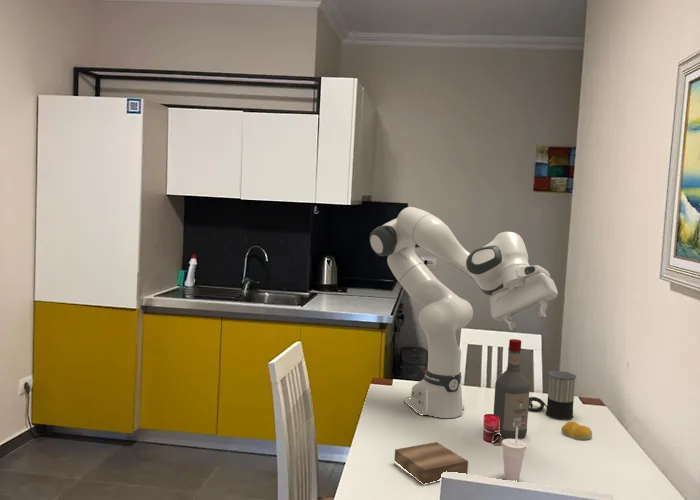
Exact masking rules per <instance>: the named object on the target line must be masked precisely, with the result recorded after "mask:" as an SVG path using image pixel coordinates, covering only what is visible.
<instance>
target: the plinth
mask: <svg viewBox="0 0 700 500" xmlns="http://www.w3.org/2000/svg"><path fill="white" fill-rule="evenodd" d="M394 461H396V462H397V463H398V464H400V465H401V466H402V467H403V468H404V469H406V470H407V471H408V472H409V473H411V474H412V475H413V476H414V477H416V478H417V479H418V480H419V481H421V482H422V483H423V484H425V483H430V482H433V481H437V480H439V479H440V478H441V474H442V473H443V472H446V471H447V472H458V473H466V474H467V475H468V471H469V460H467V459H466V458H464V457H462V456H460V455H459V454H457V453H456V452H454V451H452V450H451V449H449V448H448V447H446V446H444V445H442V444H441V443H440V442H437V441H435V442H429V443H424V444H419V445H418V444H417V445H413V446H408V447H401V448H396V449H394ZM419 481H418V482H419ZM423 484H422V485H423Z"/></svg>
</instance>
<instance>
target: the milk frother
mask: <svg viewBox="0 0 700 500" xmlns="http://www.w3.org/2000/svg"><path fill="white" fill-rule="evenodd" d="M576 378H577V375H576V374H574V373H572V372H570V371H563V370H552V371H549V372H548V386H547V387H548V390H547V403H545V402H544V400H543V399H541V398H539V397H538V396H537V397H536V396H529V405H528V411H530V412H536V413H538V412H541V411H543V410H544V408H546V411H545V415H546V416H547V417H549V418H551V419H553V420H559V421H570V420H573V419H574V401H575V399H574V398H575V389H576V387H575V385H576ZM533 402H537V403H539V405H540V406H538V407H533V406H534V404H533Z"/></svg>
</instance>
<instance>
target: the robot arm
mask: <svg viewBox="0 0 700 500" xmlns="http://www.w3.org/2000/svg"><path fill="white" fill-rule="evenodd" d="M369 245H370V247H371V249H372V251H373V252H374V253H375V254H376V255H378V256H380V257H387V259H386V261H387V266H388V268H389V269H390V271H391V273H392V275H393V276H394V277H395V279H396V280H397V282H398V283H399V284H400V286H401V287H402V288H403V289H404V291H406V293H407V294H408V295H409V297H410V298H411V299H412V300H413V301H414V302H415V303H418V304H420V305H422V306H423V308H422V309H421V310H420V312H419V314H418V323H419V326H420V328H421V329H422V330H423V331H424V334H425V337H426V342H427V347H428V348H427V349H428V352H427V354H428V355H427V369H422V371H423V372H422V373H423V374H424V376H423V379H421V380H420V381H418V382H417V383H416V384H414V385H413V386H412V387H411V392H410V396H407V397H405V398H404V399H403V401H404V400H405V401H406V402H407V403H408V404H409V405H410V406H412V407H413V408H414V409H415V410H416V411H417V412H418V413H420V414H423V415H429V416H428V417H432V416H434V417H433V418H438V417H439V419H453V418H458V417H459V418H460V417H461V416H462V415H463V411H464V410H465V406H464V405H463V391H462V390H463V389H462V385H461V383H462V373H461V361H462V360H461V359H462V358H461V357H462V350H461V348H460V346H459V345H458V342H457V337H456V331H457V330H461V329H462V328H463V329H464V327H466V326H468V324H469V323H470V322H471V321H472V319H473V316H474V308H473V306H472V305H471V303H470V302H469V301H468V300H466V299H464V298H461V297H460V296H458V295H457V294H456V293H454V292H453V291H452V290H451V289H450V288H448V287H447V286H446V285H445V284H444V283H442V282H441V281H440V280H439V279H438V278H437V277H436V275H434V273H433V272H432V271H431V270H430V269H429V268H428V266H427V265H426V264H425V263H424V262H423V261H422V260H421V258H420V257H419V256H418V255H417V253H416V248H420V247H421V248H422V249H424V250H425V251H428V252H430V253H431V254H434V255H435V256H437V257H439V258H441V259H443V260H445V261H446V262H448V263H450V264H451V265H453V266H454V267H456V268H457V269H459V270H460V271H461V272H463V273H464V274H465V275H467V276H468V277H470V278H471V279H472V280H474V281H475V282H476V284H477V286H478V289H480V291H481V292H482V293H483V294H485V295H487V296H489V304H490V305H489V308H490V317H491V318H492V319H494V321H497V322H499V323H500V322H503V321H504V322H506V324H507V325H508V329H509V330H511V331H512V332H513V331H514V330H518V327H517V323H515V322H514V321H512V318H513V317H514V316H517V315H519V314H522V313H524V312H526V311H528V310H531V309H533V308H536V307H537V306H540V307H539V310H538V311H537V314H538V318H539V319H544V318H546V317H547V313H546V311H547V308H548V302H551V301H552V300H554V299H556V298H557V296H558V295H559V291H558V289H557V286H556V284H555V281H554V279H552V278H551V275H550V272H549V271H548V270H547V269H546V268H544V267H543V266H540V265H538V264H534V265H530V263H529V253H528V251H527V247H526V244H525V241H524V240H523V238H522V236H520V234H518V233H517V232H513V231H503V232H499V233H498V234H497V235H496V236H495V237H494V238H493V240H491V241H490V242H489V243H488V244H486V245H484V246H482V247H478V248H475V249H474V250H471V252H469V251H467V249H465V248H464V246H463V245H462V244H461V243H460V242H459V241H458V239H457V238H456V236H455V235H454V232H452V230H451V229H450V227H449V226H448V225H447V224H446V223H445V222H444V221H442V220H441V219H440V218H439V217H437V216H436V215H434V214H432V213H430V212H429V211H426V210H424V209H421V208H418V207H414V206H408V207H405V208H403V209H402V210H401V211H400V212H399V213H398V215H397V217H396V218H394V219H391V220H390V221H388V222H385V223H384V224H382V225H380V226H377V227H376V228H374V229H373V230H372V231H370V234H369ZM409 398H411V399H409ZM423 415H422V416H423Z"/></svg>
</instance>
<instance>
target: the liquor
mask: <svg viewBox="0 0 700 500" xmlns="http://www.w3.org/2000/svg"><path fill="white" fill-rule="evenodd" d="M508 341H509V342H508V363H507V367H506V370H505V371H504V372H503V373H501V374H500V375H499V376H498V377H497V379H496V381H495V384H494V385H495V386H494V399H493V400H494V401H493V402H494V403H493V415H496V416H499V417H500V434H501V436H500V438H502V439H515V436H516V427H518V439H517V440H520V439H524V438H525V437H526V435H527V433H528V420H529V419H528V416H529V410H528V405H529V397H530V389H531V388H530V387H531V386H530V382H529V381H528V378H526V376H525V375H524V374H523V373H522V371H521V368H520V365H521V364H520V363H521V362H520V361H521V360H520V358H521V351H522V340H520V339H516V338H514V339H513V338H511V339H509V340H508Z"/></svg>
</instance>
